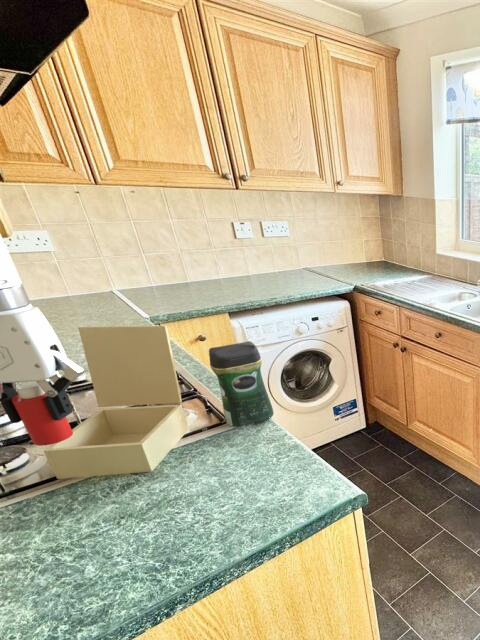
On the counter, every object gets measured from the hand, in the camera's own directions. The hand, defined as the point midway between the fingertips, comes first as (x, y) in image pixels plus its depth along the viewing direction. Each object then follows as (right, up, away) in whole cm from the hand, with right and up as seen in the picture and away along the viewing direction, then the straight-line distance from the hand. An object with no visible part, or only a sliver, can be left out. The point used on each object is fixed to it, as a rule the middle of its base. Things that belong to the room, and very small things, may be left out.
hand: (43, 416), depth 64 cm
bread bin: (-4, -9, +20) cm, 22 cm away
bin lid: (-5, +8, +21) cm, 23 cm away
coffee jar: (+10, -3, +34) cm, 36 cm away
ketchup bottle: (0, -4, +2) cm, 4 cm away
